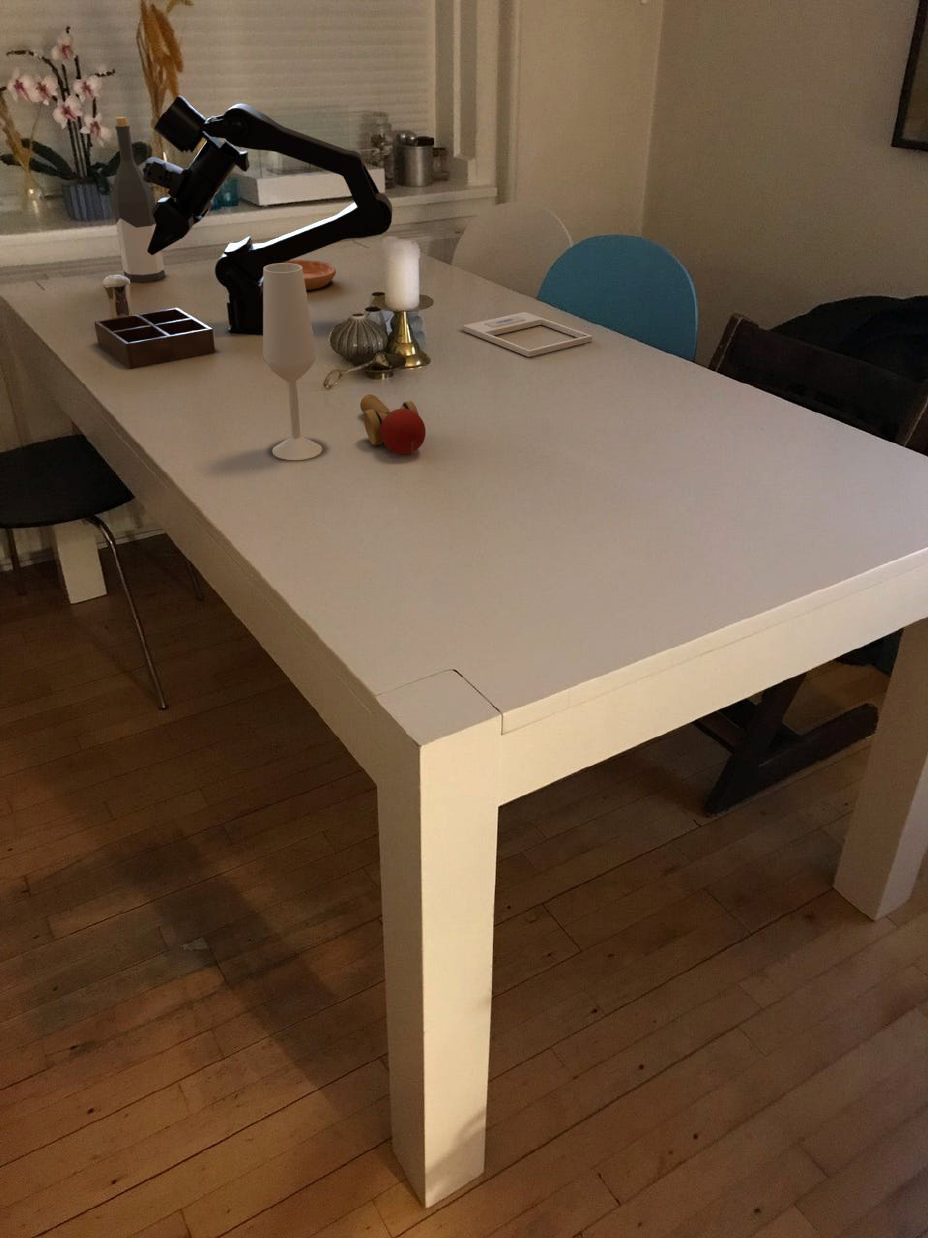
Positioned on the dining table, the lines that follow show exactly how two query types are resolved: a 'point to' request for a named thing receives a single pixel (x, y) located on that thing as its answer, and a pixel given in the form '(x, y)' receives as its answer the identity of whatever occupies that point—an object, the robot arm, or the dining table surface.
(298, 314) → the champagne flute
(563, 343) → the photo frame
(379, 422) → the kendama
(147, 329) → the organiser
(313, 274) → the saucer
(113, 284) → the milkshake
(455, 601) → the dining table surface
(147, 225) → the wine bottle
